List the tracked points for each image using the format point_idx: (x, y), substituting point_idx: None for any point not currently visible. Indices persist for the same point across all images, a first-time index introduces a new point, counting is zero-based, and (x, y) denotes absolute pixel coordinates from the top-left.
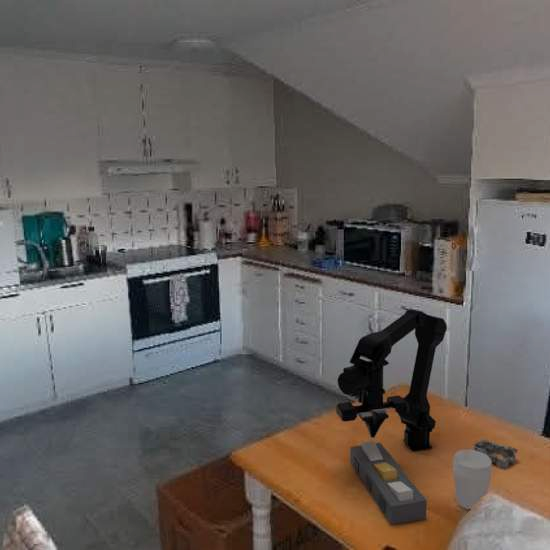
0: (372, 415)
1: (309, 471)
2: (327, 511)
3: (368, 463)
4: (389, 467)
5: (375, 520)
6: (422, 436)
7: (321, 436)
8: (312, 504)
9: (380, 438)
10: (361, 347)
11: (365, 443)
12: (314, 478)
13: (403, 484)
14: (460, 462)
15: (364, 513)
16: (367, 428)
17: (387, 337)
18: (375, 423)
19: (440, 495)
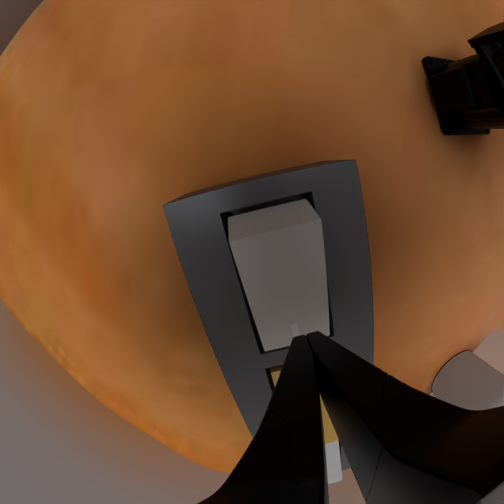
0: (399, 476)
1: (52, 254)
2: (136, 416)
3: (250, 361)
4: (327, 417)
5: (244, 442)
6: (500, 128)
7: (101, 12)
8: (99, 393)
9: (343, 17)
10: None
11: (255, 246)
12: (71, 295)
13: (336, 454)
14: (499, 394)
15: (221, 429)
16: (277, 387)
17: None
18: (362, 479)
19: (421, 363)
